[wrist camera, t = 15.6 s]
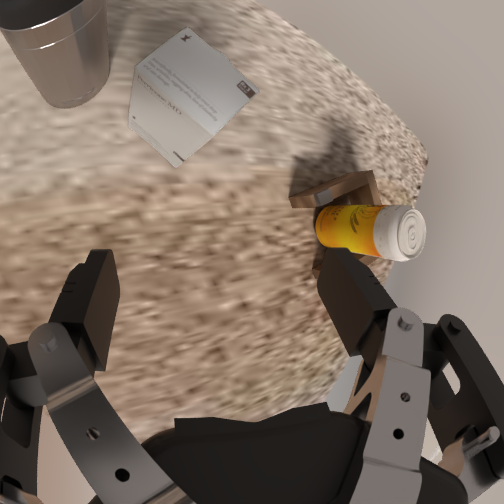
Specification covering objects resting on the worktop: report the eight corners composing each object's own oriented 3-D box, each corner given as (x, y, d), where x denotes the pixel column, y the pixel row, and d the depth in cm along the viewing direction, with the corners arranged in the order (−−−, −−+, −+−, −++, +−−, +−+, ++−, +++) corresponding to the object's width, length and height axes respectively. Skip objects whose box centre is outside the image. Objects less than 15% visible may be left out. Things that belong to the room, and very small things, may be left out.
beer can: (341, 201, 41) (425, 201, 27) (347, 241, 42) (429, 254, 29) (308, 209, 39) (393, 210, 25) (316, 252, 40) (398, 270, 26)
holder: (288, 197, 38) (313, 195, 32) (349, 173, 41) (376, 169, 36) (314, 278, 41) (340, 286, 35) (368, 245, 44) (395, 249, 39)
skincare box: (126, 127, 29) (124, 66, 15) (162, 92, 30) (185, 21, 16) (179, 171, 32) (212, 139, 18) (212, 135, 33) (264, 87, 19)
